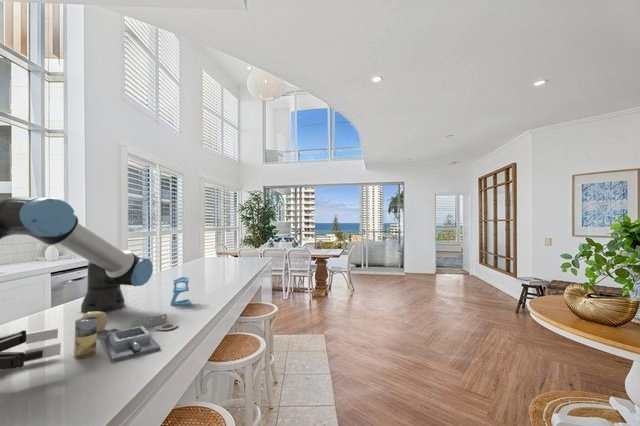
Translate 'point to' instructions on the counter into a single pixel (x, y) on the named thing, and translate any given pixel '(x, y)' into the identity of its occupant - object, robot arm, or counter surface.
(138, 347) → the coupling board
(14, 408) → the counter surface
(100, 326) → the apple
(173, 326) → the bracket
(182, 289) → the chair
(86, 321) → the gold and grey cylinder
